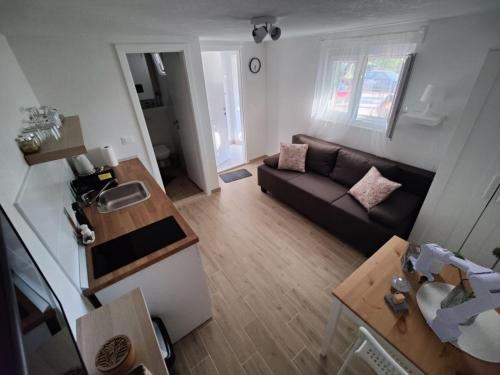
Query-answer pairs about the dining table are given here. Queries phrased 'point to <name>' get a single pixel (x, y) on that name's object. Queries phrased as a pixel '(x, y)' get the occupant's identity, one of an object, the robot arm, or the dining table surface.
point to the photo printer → (436, 266)
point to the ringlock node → (398, 292)
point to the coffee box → (410, 251)
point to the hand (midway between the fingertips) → (414, 277)
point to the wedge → (398, 299)
